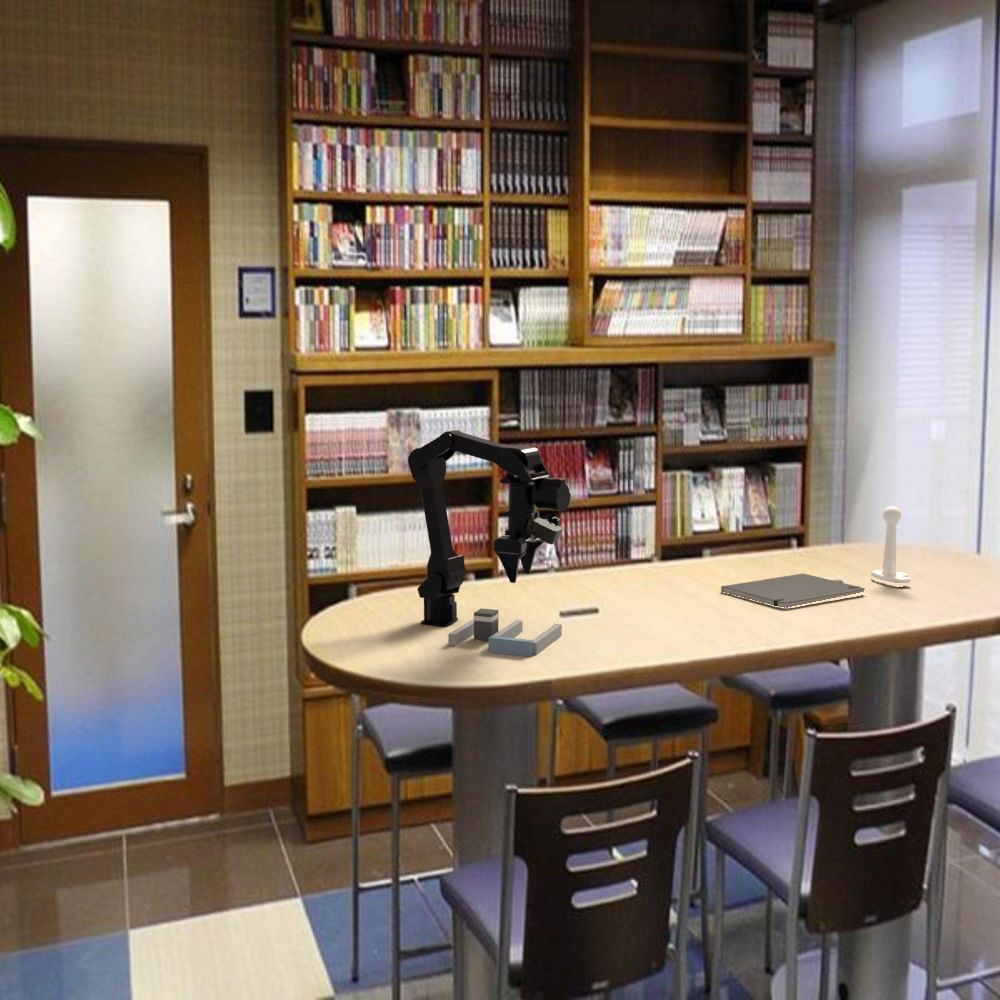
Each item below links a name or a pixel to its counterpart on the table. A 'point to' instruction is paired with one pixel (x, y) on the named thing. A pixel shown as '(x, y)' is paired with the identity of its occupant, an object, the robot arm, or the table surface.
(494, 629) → the grey capped block
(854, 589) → the notebook
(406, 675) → the table surface
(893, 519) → the joystick
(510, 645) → the grey rectangular bars
